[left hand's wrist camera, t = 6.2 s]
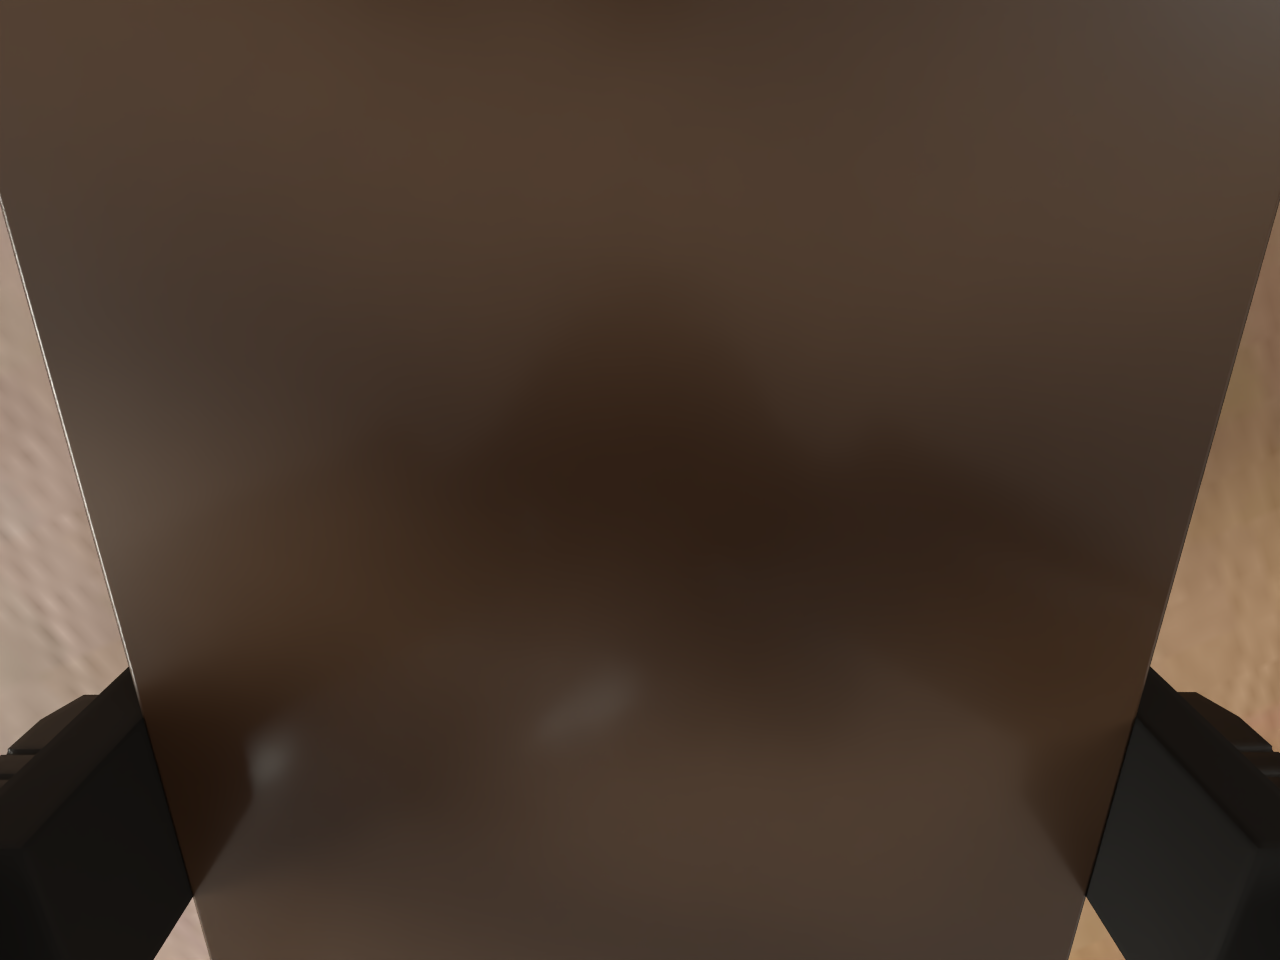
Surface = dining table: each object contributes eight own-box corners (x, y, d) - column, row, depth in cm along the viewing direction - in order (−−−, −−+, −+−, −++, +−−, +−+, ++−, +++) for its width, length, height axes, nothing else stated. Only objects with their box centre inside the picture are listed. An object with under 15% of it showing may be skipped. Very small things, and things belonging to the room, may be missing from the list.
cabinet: (327, -166, 14) (-308, -879, 5) (952, -165, 14) (1585, -876, 5) (418, 611, 19) (218, 996, 10) (861, 612, 19) (1060, 995, 10)
